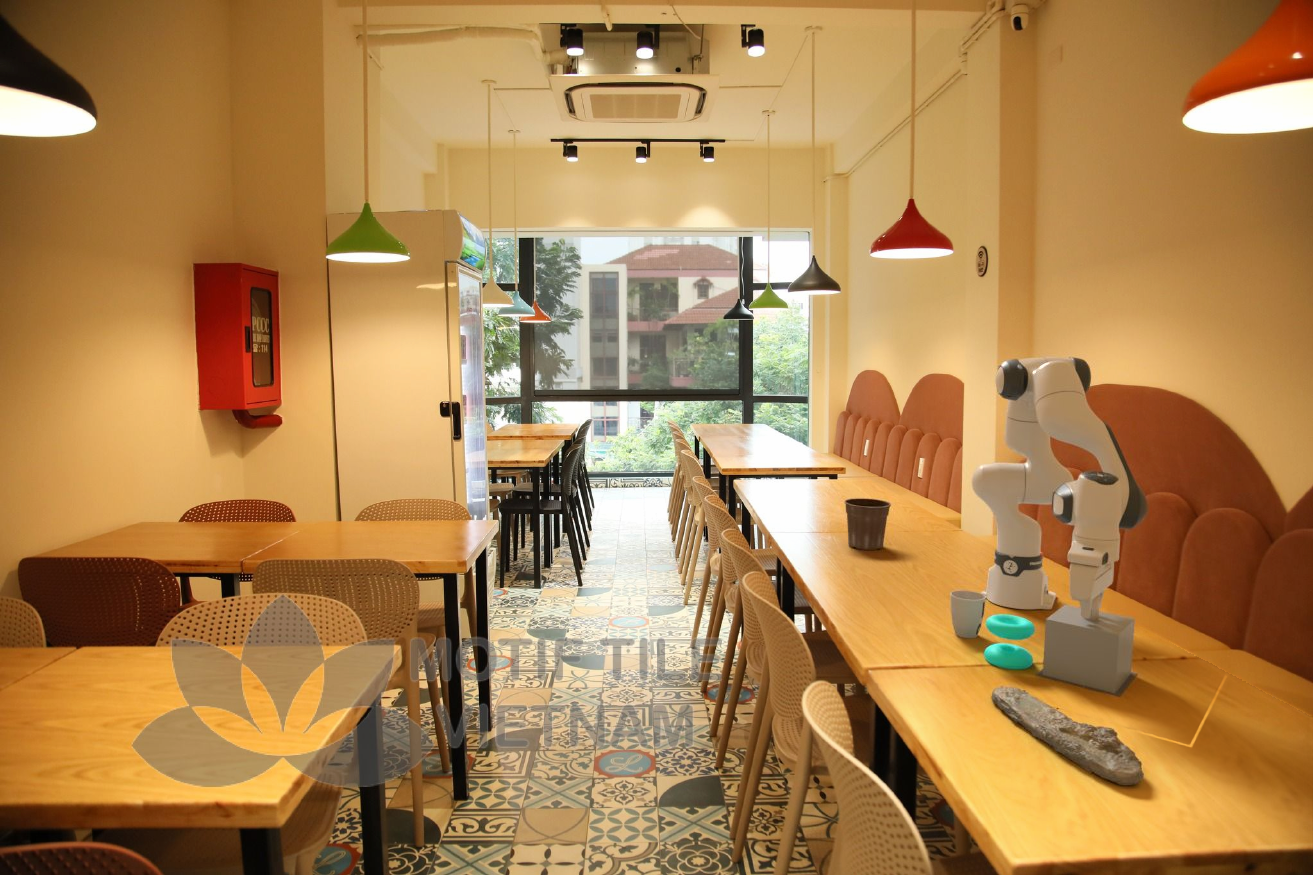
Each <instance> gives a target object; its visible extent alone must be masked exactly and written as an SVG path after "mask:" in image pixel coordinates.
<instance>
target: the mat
mask: <svg viewBox="0 0 1313 875" xmlns="http://www.w3.org/2000/svg"><path fill="white" fill-rule="evenodd" d="M1138 675H1139V674H1138V673H1136V672H1133V671H1131V674H1130V676H1129V677H1128V678H1127V679H1126V681H1125V682H1124V683H1123V684H1122V686H1121V687H1120V688H1119V689H1118V691H1117V692H1116V693H1111V692H1107V691H1103V690H1099V689H1095V688H1091V687H1087V686H1084V685H1080V684H1076V683H1072V682H1068V681H1064V680H1060V679H1056V678H1052V677H1048V676H1044V675H1043V668H1042V669H1041V670H1039V671H1038V672H1037V673H1036V674H1035V677H1036V676H1037V677H1040V678H1044V679H1048V680H1052V681H1055V682H1060V683H1063V684H1068V685H1072V686H1075V687H1080V688H1083V689H1088V690H1090V691H1091V690H1092V691H1095V692H1099V693H1102V694H1103V693H1104V694H1106V695H1110V696H1114V697H1119V698H1121V696H1122V695H1123V694H1124V693H1125V691H1126V690H1127V689H1128V687H1129V686H1130V685H1131V684H1132V682H1133V681H1134V680H1135V678H1136V677H1137V676H1138Z"/></svg>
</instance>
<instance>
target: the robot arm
mask: <svg viewBox="0 0 1313 875" xmlns="http://www.w3.org/2000/svg"><path fill="white" fill-rule="evenodd" d="M1089 365H1090V364H1088V363H1087V361H1086V360H1085V359H1083V358H1079V357H1073V356H1070V357H1060V356H1041V357H1029V358H1021V359H1017V358H1013V359H1012V358H1011V359H1008V360H1005V361H1003V362H1002V363H1000V365H999V366H998V368H997V371H996V375H995V379H994V380H995V387H996V390H997V393H998V395H1000V397H1001V398H1002V399H1005V400H1007V404H1006V405H1007V406H1006V415H1005V425H1004V437H1003V439H1004V443H1005V445H1006V446H1007V447H1008V448H1009V449H1010V450H1012V451H1013V452H1015V453H1017V454H1018V455H1021V456H1023V457H1024V458H1026V462H1023V463H1022V462H1021V463H1019V462H1018V463H1016V462H991V463H984V464H980V465H979V466H977V468H976V469H975V470H974V471H973V473H972V477H971V487H972V490H973V493H975V495H976V497H977V498H979V499H980V500H981V501H982V502H983V503H984V504H986V505H987V507H989V509H990V511H991V512H992V515H993V516H994V518H995V524H996V549H995V550H994V555H993V560H994V561H993V562H994V565H992V566H991V567H989V569H988V572H987V573H988V574H987V581H986V590H982V591H981V592H980V593H981V594H983V595H985V596H986V599H987V600H988V601H989V602H991V603H993V604H994V605H998V606H1001V607H1006V608H1010V609H1018V610H1052V609H1053V606H1054V604H1055V601H1056V598H1057V593H1056V592H1054V591H1051V590H1049V589H1048V588H1049V576H1048V575H1047V574H1046V572H1045V571H1044V569H1043V568H1042V567H1043V559H1044V552H1042V551H1041V546H1042V528H1041V525H1040V524H1039V522H1038V521H1037V520H1035V519H1034V518H1033V517H1031V516H1029V515H1027V514H1024V513H1023V512H1021V511H1020V509H1019V505H1020V504H1021V505H1022V504H1025V505H1026V504H1028V505H1051V512H1052V514H1053V515H1054V517H1055V518H1057V520H1058V521H1059V522H1061V523H1062V524H1065V525H1068V526H1074V527H1073V531H1072V535H1071V536H1072V537H1071V545H1070V546H1071V547H1070V549H1069V550H1068V552H1067V562H1068V563H1070V564H1069V595H1070V598H1071V600H1073V601H1076V602H1077V601H1078V603H1079V606H1080V608H1081V616H1082V617H1084V618H1090V617H1091V616H1092V609H1091V603H1092V600H1093V599H1094V598H1095V597H1096V596H1100V607H1099V610H1100V609H1101V608H1102V602H1103V598H1104V594H1105V590H1106V589H1107V588H1108V587H1110V586H1111V585H1112V584H1113V582H1114V573H1115V572H1114V571H1115V569H1114V568H1115V562H1118V561H1119V560H1120V545H1121V544H1120V543H1121V533H1120V529H1121V530H1131V529H1133V528H1135V527H1136V526H1138V525H1140V524H1141V522H1143V521H1144V519H1145V518H1146V517H1147V514H1148V508H1149V507H1148V500H1147V497H1146V494H1145V493H1144V491H1143V490H1142V488H1141V486H1140V485H1139V484H1138V483H1137V481H1136V480H1135V477H1134V475H1133V473H1132V471H1131V469H1130V466H1129V464H1128V463H1127V459H1126V458H1125V456H1124V453H1123V450H1122V449H1121V446H1120V445H1119V442H1118V440H1117V437H1116V436H1115V434H1114V432H1113V430H1112V428H1111V427H1110V426H1109V424H1108V423H1107V422H1105V421H1103V420H1102V419H1101V418H1099V417H1098V416H1097V415H1096V414H1095V412H1094V411H1093V410H1092V409H1091V406H1090V405H1089V403H1088V399H1087V396H1086V393H1088V391H1089V390H1090V387H1091V382H1092V371H1091V367H1090V366H1089ZM1051 438H1052V439H1055V440H1057V441H1059V442H1063V443H1066V444H1070V445H1073V446H1076V447H1077V448H1078V447H1079V448H1081V449H1082V450H1085V451H1087V452H1088V453H1090V454H1092V455H1093V456H1094V457H1095V459H1097V461H1098V463H1099V466H1100V468H1101V469H1100V470H1089V471H1083V472H1081V473H1080V474H1079V475H1078V478H1077V479H1075V478H1074V476H1073V475H1072V473H1071V472H1070V470H1069V469H1067V467H1065V466H1063V465H1062V464H1061V463H1060V462H1059V461H1058V459H1057V457H1056V456H1055V455H1054V452H1053V449H1052V446H1051ZM1101 470H1102V471H1101Z"/></svg>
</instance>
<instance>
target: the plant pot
mask: <svg viewBox="0 0 1313 875" xmlns="http://www.w3.org/2000/svg"><path fill="white" fill-rule="evenodd" d="M844 505H845V513H846V520H847V521H846V522H847V524H846V525H847V538H848V539H847V540H848V542H847V543H848V546H849V547H851V548H856V549H857V550H864V551H875V550H878V549H879V550H881V549H883V548H884V544H885V543H884V541H885V534H886V529H887V528H886V527H887V521H888V516H889V514H890V513H889V512H890V507H891V506H892V503H891V502H889V501H885V500H881V499H876V498H861V497H859V498H847V499H845V500H844Z"/></svg>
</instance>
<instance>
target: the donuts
mask: <svg viewBox="0 0 1313 875" xmlns="http://www.w3.org/2000/svg"><path fill="white" fill-rule="evenodd" d="M985 627H986V629H987V630H988V631H989V633H991V634H992V635H993V636H996V637H998V638H1000V639H1004V640H1005V639H1006V640H1011V641H1022V640H1026V639H1029V638H1031V637H1032V636H1033V635H1034V634H1035V632H1036V628H1035V625H1034V624H1033V622H1032V621H1030V620H1028V619H1027V618H1025V617H1022V616H1018V615H1014V614H1012V615H1011V614H1001V613H1000V614H993V615H991V616H989V617H987V619H986V621H985ZM983 656H984V658H985V660H986V662H988V663H989V664H991V665H993V666H996V667H999V668H1003V669H1006V670H1025V669H1026V670H1027V669H1028V668H1030V667H1032V665H1033V663H1034V658H1033V655H1032V654H1031V652H1030V651H1029V650H1028V649H1026V648H1024V647H1022V646H1019V645H1017V644H1013V643H1004V642H1003V643H1001V642H1000V643H994V644H991V645H989V646H987V647H986V648H985V649H984V652H983Z"/></svg>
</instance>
